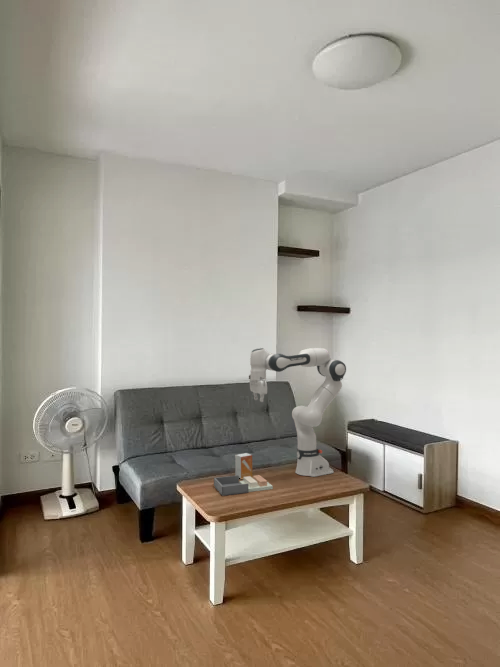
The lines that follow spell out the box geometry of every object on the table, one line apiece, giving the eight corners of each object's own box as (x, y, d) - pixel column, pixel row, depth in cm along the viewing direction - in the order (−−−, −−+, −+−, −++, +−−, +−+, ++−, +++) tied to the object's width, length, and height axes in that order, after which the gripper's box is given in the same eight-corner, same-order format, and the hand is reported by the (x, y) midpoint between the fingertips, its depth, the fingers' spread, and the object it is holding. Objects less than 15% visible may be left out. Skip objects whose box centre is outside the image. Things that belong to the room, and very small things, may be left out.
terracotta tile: (259, 479, 261) (259, 475, 261) (267, 485, 249) (267, 480, 249) (252, 480, 259) (252, 475, 259) (260, 486, 248) (260, 481, 248)
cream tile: (250, 480, 259) (250, 476, 259) (257, 486, 248) (257, 482, 248) (243, 481, 258) (243, 476, 258) (250, 487, 246) (250, 482, 246)
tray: (238, 483, 260) (238, 475, 260) (248, 492, 243) (248, 483, 243) (213, 486, 255) (213, 477, 255) (222, 496, 239) (222, 486, 239)
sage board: (263, 481, 263) (262, 478, 263) (272, 489, 249) (272, 485, 249) (239, 484, 258) (239, 481, 258) (247, 492, 244) (247, 488, 244)
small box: (241, 479, 267) (240, 456, 267) (235, 477, 272) (234, 454, 272) (252, 477, 271) (252, 454, 271) (246, 474, 276) (246, 452, 277)
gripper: (269, 377, 260) (270, 402, 260) (257, 375, 279) (258, 398, 279) (259, 378, 258) (259, 403, 258) (247, 375, 277) (248, 399, 277)
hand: (258, 400), depth 269 cm, fingers open, 8 cm apart
